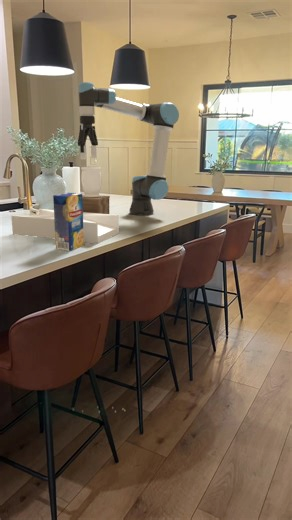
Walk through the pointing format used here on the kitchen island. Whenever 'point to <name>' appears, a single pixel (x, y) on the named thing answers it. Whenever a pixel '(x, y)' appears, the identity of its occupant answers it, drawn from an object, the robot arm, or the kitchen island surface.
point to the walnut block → (96, 204)
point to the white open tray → (44, 225)
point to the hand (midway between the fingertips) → (88, 158)
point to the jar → (91, 181)
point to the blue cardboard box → (68, 221)
